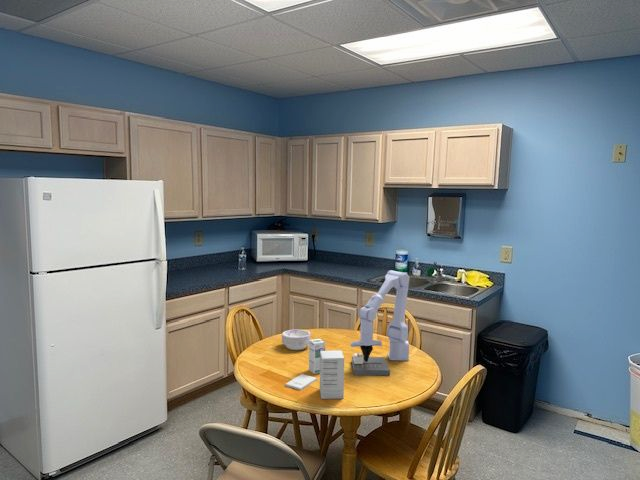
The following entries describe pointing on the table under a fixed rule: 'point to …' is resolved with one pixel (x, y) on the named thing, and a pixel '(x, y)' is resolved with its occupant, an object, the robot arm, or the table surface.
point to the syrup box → (315, 354)
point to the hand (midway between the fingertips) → (365, 360)
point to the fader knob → (358, 358)
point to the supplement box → (331, 374)
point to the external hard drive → (300, 382)
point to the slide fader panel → (372, 367)
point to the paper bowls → (296, 339)
